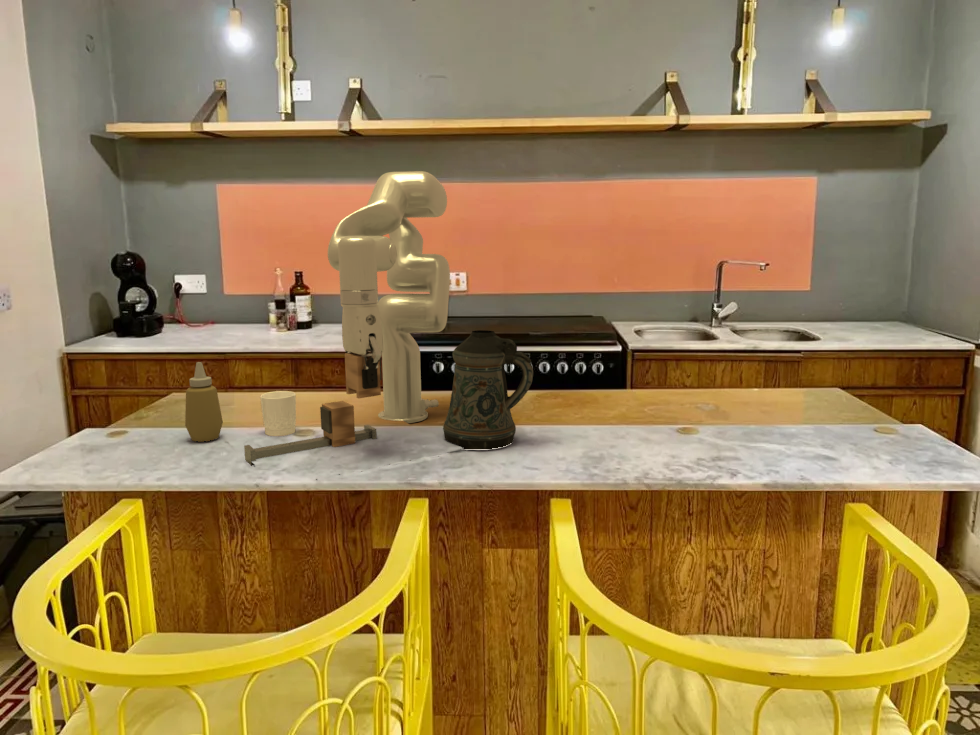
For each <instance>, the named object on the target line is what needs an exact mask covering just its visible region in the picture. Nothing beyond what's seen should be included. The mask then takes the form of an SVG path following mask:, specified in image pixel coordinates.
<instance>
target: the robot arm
mask: <svg viewBox="0 0 980 735" xmlns="http://www.w3.org/2000/svg"><path fill="white" fill-rule="evenodd" d="M447 206H448V196H447V192H446V189H445V187H444V185H443V184H442V183H441V182H440V181H439V180H438V179H437V177H436V176H435V175H434V174H431V173H430V172H427V171H425V170H423V171H422V170H420V171H419V170H416V171H414V170H413V171H412V170H411V171H406V170H405V171H390V172H385V173H383V174H381V175H380V177H378V179H377V181H376V183H375V185H374V188H373V189H372V193H371V194H370V197H369V200H368V201H367V205H364V206H362V207H360V208H359V209H357V210H355V211H354V212H352V213H351V214H349V215H347V216H345V217H344V218H342V219H341V220H340V221H339V222H338V223H337V225H336V227H335V228H334V230H333V232H332V235H331V237H330V240H329V244H328V246H327V259H328V262H329V265H330V266H331V268H333V269H334V270H335V271H338V273H339V274H338V275H339V291H340V293H339V294H340V306H341V307H342V314H341V316H342V317H341V318H342V320H341V336H342V347H343V350H344V352H345V353H344V354H346V353H354V354H357V355H361V357H362V362H363V367H364V369H363V370H362V384H363V388H364V389H369V388H376V387H378V375H377V368H378V362H379V359H380V357H381V370H382V387H383V388H382V390H383V396H382V397H383V410H382V411H380V412H379V413H378V416H377V417H378V418H379V419H382V420H385V421H392V422H394V421H395V422H404V423H406V424H413V423H418V422H421V421H425V420H426V419H427V418H428V416H429V414H428V412H427V410H429V408H437V407H438V406H439V400H438V399H436V398H435V399H431V400H429V399H428V398H427V399H424V398H422V379H421V378H422V376H421V374H422V373H421V350H420V347H419V345H418V343H417V341H416V339H414V337H413V336H412V333H439V332H441V331H443V330H444V329H445V328H446V326H447V322H448V314H449V313H448V312H449V299H450V298H449V297H450V287H451V286H450V284H451V283H450V282H451V273H450V272H451V271H450V265H449V262H448V260H447V258H446V257H445V256H443V255H441V254H438V253H437V254H436V253H423V249H424V248H423V246H424V238H423V235H422V233H421V232H420V231H419V229H418V228H417V227H416V226H415V225H414V224H413V223H412V222H411V221H410V220H409V219H408V218H415V219H416V218H419V219H420V218H439V217H442V215H443V214H444V213H445V212H446V210H447ZM386 235H388V236H389V237H387V236H386ZM378 272H381V273H382V272H386V283H387V285H388V287H389V288H390V289H391V290H393V291H395V292H400V293H391V294H387V295H384V296H382V297H381V298H380V299H379V293H378V290H379V289H378V287H379V286H378ZM405 292H406V293H405ZM367 352H371V353H369V354H366V353H367ZM367 357H371V358H369V360H368V362H367Z"/></svg>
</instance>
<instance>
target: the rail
mask: <svg viewBox="0 0 980 735" xmlns="http://www.w3.org/2000/svg"><path fill="white" fill-rule="evenodd" d="M363 428H364V429H360V430H355V442H357V441H363V440H369V439H371V440H376V439H378V436H377V435H378V434H377V428H375V427H373V426H371V425H369V424H365V425H364V426H363ZM330 446H332V439H330V438H328V437H327V436H325V437H324V436H321V437H320V436H319V437H313V438H308V439H302V440H295V441H291V442H284V443H280V444H279V443H278V444H274V445H272V444H271V445H268V446H263V447H256V448H253V446H251V445H250V444H247V445H244V446H243V447H244V448H243V449H244V459H245V460H246V461H245V460H244V461H245V462H246V463H248V464H249V465H250V466H251V467H253V466H256V464H255V463H253V462H255V461H257V460H258V459H259V460H260V459H264V458H269V457H274V456H275V457H276V456H281V455H284V454H285V455H287V454H291V453H296V452H302V451H308V450H313V449H319V448H325V447H330ZM252 465H253V466H252Z"/></svg>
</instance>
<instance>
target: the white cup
mask: <svg viewBox="0 0 980 735" xmlns="http://www.w3.org/2000/svg"><path fill="white" fill-rule="evenodd" d="M296 396H297V394H296V392H294V391H291V390H289V391H288V390H276V391H275V390H274V391H269V392H265V393H262V394H260V397H259V398H260V404H261V405H260V406H261V414H262V422H263V426H264V432H265V433H264V434H265V435H266V436H270V437H284V436H288V435H293V434H294V433H295V432H296V422H297V421H296V420H297V409H296V408H297V407H296V405H297V400H296V399H297V398H296Z"/></svg>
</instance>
